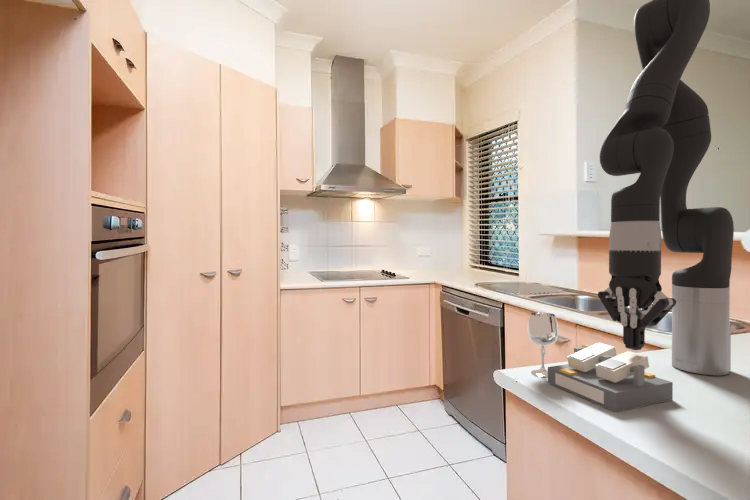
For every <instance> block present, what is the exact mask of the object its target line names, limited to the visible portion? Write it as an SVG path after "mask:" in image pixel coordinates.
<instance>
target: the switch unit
mask: <svg viewBox="0 0 750 500" xmlns="http://www.w3.org/2000/svg"><path fill="white" fill-rule="evenodd" d="M583 349H584V348H583V347H581V346H579V347H578V346H577V347H573V354H574V353H576V352H578V351H581V350H583ZM610 358H611V356H608V355H605V356H601V362H603V361H606V360H608V359H610ZM547 371H548V377H547V383H548V384H549V385H552V386H554V387H557V388H559V389H561V390H564V391H566V392H567V393H568V392H569V393H570V394H573V395H575V396H577V397H580V398H582V399H585V400H586V401H589V402H592V403H593V404H596V405H598V406H601V407H603V408H605V409H607V410H610V411H612V412H613V413H614V412H615V413H618V412H622V411H627V410H633V409H637V408H642V407H647V406H650V405H656V404H661V403H666V402H670V401H673V395H674V394H673V387H674V386H673V385H674V383H673V381H670V380H667V379H663V378H660V377H657V376H656V374H653V373H651V372H647V371H645V369H644V366H642V365H635V366H634V374H633V375H631V376H629V377H627V378H625V379H623V380H620V381H618V382H616V383H615V382H612V381H609V380H606V379H603V378H601V377H598V376H597V374H596V368H593V369H591V370H589V371H587V372H582V371H580V370H577V369H574V368H571V367H569V364H568V363H566V364H558V365H552V366H547Z"/></svg>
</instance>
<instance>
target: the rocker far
mask: <svg viewBox="0 0 750 500" xmlns="http://www.w3.org/2000/svg"><path fill="white" fill-rule="evenodd" d="M616 355H617V356H615V357H613V358H610V359H608V360H606V361H603V362H601V363H599V364H596V365H595V368H596V374H597V376H598V377H601V378H603V379H606V380H609V381H612V382H615V383H616V382H618V381H620V380H623V379H625V378H627V377H629V376H631V375H633V374H634V366H635V365H642V366H644V370H646V369H648V368H650V364H649V363H650V362H649V357H648V355H646V354H642V353H637V352H633V351H632V350H631V351H630V350H626V351H625V352H622V353H619V354H616Z"/></svg>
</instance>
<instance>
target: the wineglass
mask: <svg viewBox="0 0 750 500" xmlns="http://www.w3.org/2000/svg"><path fill="white" fill-rule="evenodd" d="M529 314H530V315H529V318H528V321H527V329H526V330H527V336H528V338H529V340H530V342H532V343H533V344H535V345H536V346H539V347H541V348H540V350H539V353H540V357H541V366H540V368H539V369H534V370H531V371H530V374H531V375H533V376H535V377H540V378H548V369H546V368H545V357H546V356H545V355H546V347H548V346H549V347H550V346H552V345H553V344H555V343H556V342H557V341H558V339H559V338H558V337H559V324H558V320H557V317H556V314H554V313H549V312H531V313H529Z"/></svg>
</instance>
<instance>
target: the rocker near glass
mask: <svg viewBox="0 0 750 500" xmlns="http://www.w3.org/2000/svg"><path fill="white" fill-rule="evenodd" d="M605 355H608V356H611V358H613V357H615V356H617V355H618V354H617V350H616V346H614V345H609V344H606V343H602V342H596V343H594V344H591V345H590V346H587V347H586V348H583V350H581V351H578V352H576V353H574V352H573V353H571V354H570V355H567V364H569V367H571V368H574V369H577V370H580V371H582V372H587V371H589V370H591V369H593V368H595V365H596V364H599V363H601V356H605Z"/></svg>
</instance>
